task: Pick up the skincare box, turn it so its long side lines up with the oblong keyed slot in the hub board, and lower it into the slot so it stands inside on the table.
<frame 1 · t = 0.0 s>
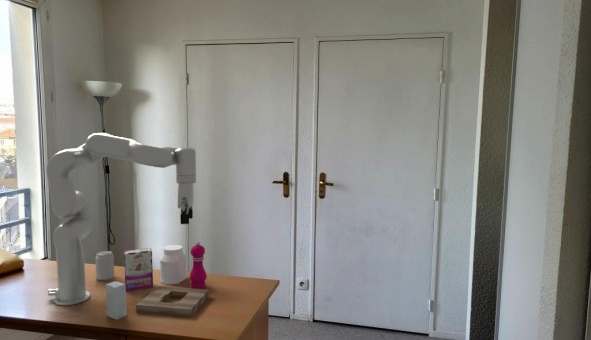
hand: (186, 221, 162), 31 cm above the table, tool pointing down, fingers open, 9 cm apart
candy bar box: (139, 288, 173), on the table
jar: (173, 280, 182), on the table
pepper mill: (198, 287, 175), on the table
skincare box: (116, 316, 147), on the table
can: (105, 278, 183), on the table
hub board: (174, 304, 157), on the table
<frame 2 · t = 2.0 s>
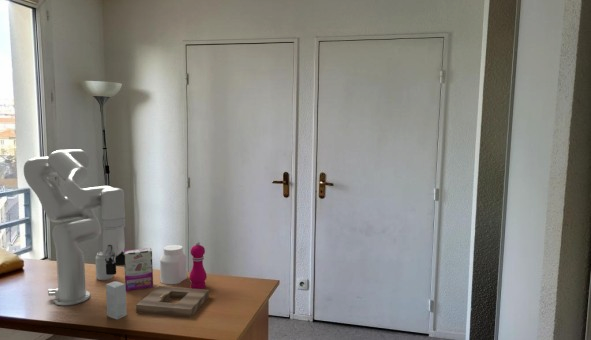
hand: (116, 269, 145), 18 cm above the table, tool pointing down, fingers open, 9 cm apart
nothing on the table moved.
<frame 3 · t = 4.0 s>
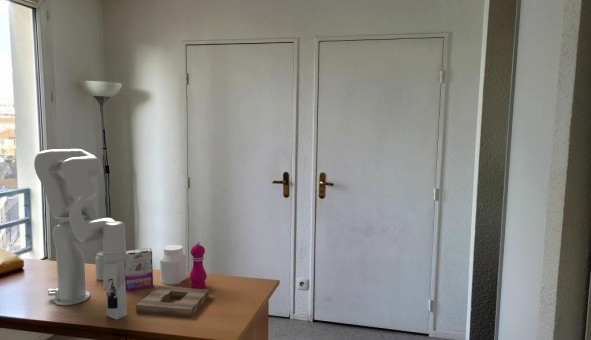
hand: (116, 303, 147), 5 cm above the table, tool pointing down, fingers closed on skincare box, 6 cm apart
skincare box: (116, 316, 147), on the table, touching gripper
everything else where it was.
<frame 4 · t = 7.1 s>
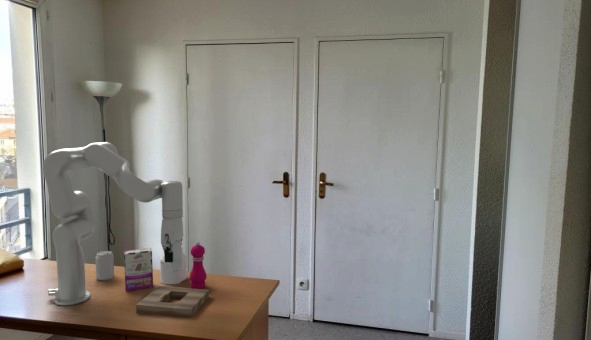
hand: (173, 258, 155), 18 cm above the table, tool pointing down, fingers closed on skincare box, 6 cm apart
skincare box: (173, 270, 156), point 13 cm above the table, touching gripper
everything else where it was.
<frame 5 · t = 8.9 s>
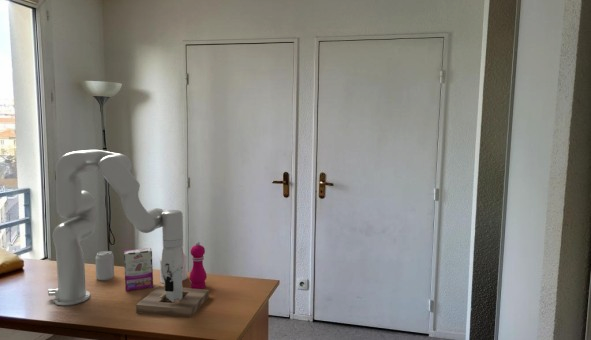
hand: (173, 286, 156), 7 cm above the table, tool pointing down, fingers closed on skincare box, 6 cm apart
skincare box: (174, 299, 157), point 2 cm above the table, touching gripper
everything else where it was.
when the fingers open (6 cm above the table, at t = 10.1 s): skincare box drops 1 cm, resting in hub board.
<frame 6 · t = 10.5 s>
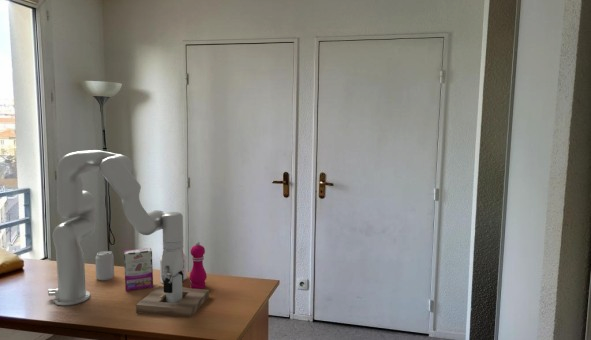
hand: (173, 287, 156), 7 cm above the table, tool pointing down, fingers open, 9 cm apart
skincare box: (174, 304, 157), resting in hub board
everything else where it was.
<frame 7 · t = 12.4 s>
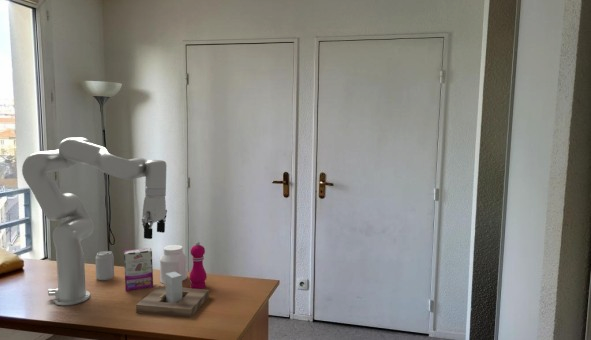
hand: (154, 235, 157), 27 cm above the table, tool pointing down, fingers open, 9 cm apart
nothing on the table moved.
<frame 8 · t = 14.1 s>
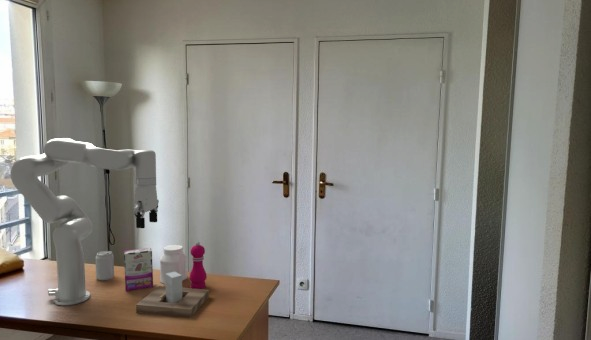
hand: (147, 224, 159), 30 cm above the table, tool pointing down, fingers open, 9 cm apart
nothing on the table moved.
at the end: skincare box 0.4 cm off-centre on the hub board, point 0.0 cm above the hub board's base; skincare box tilted 0°; the gripper is holding nothing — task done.
